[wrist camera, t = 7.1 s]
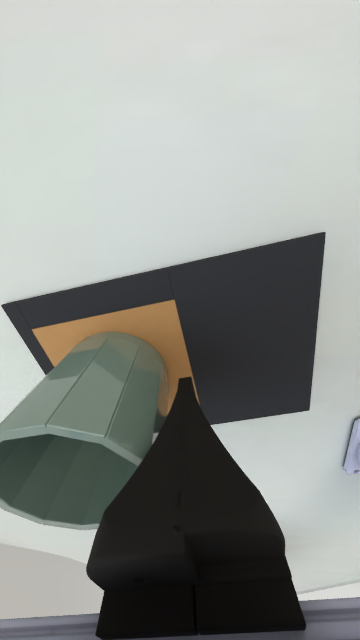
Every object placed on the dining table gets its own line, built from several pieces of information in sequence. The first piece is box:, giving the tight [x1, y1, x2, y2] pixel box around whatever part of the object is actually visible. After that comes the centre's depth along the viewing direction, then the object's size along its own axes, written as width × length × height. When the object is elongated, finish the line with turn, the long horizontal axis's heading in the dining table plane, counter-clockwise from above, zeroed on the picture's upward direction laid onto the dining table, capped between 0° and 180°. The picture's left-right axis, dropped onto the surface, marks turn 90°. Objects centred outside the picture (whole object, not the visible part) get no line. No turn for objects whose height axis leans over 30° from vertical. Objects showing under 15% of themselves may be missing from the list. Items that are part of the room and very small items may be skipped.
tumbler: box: [0, 332, 169, 530], centre depth 11 cm, size 8×8×7 cm
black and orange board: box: [1, 232, 325, 425], centre depth 14 cm, size 20×14×1 cm
